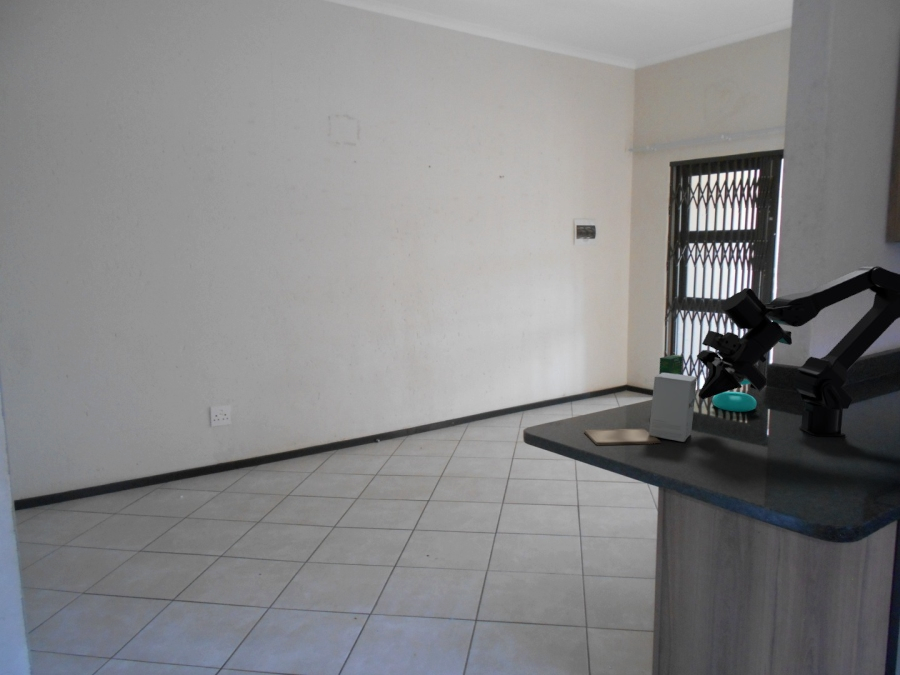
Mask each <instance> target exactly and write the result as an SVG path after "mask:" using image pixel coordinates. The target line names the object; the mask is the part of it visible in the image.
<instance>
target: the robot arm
mask: <svg viewBox="0 0 900 675" xmlns="http://www.w3.org/2000/svg"><path fill="white" fill-rule="evenodd" d="M867 290H869V291H870V292H872V293H875V294H874V298H873V304H872V307H871V308H870V309H869V310H868V311H867V312H866V313H865V314H864V315H862V316H863V317H861V318H860V319H859V320H858V321H857V322H856V324H855V325H853V327H852V328H851V329H850V330H848V332H847V333H846V334H845V335H844V336H843V337H842V339H840V340H839V342H837V344H836V345H835V346H834V347H833V348H832V349H831V350H830V351H829V352H827V354H826V355H825V356H822V357H821V358H819V357H815V356H809V357H808V358H807V360H806V361H805V362H804V363H803V365H802V366H800V367H799V368H797V369H796V371H797V373H796V374H795V376H794V378H793V379H794V386H795V389H796V391H797V392H798V394H799V397H800V400H801V401H805V402H804V409H802V412H801V425H799V426H798V428H799V429H800V430H802V431H803V432H807V433H808V434H810V435H812V436H813V437H846V436H847V433H845V432H843V431H842V427H843V425H842V424H843V414H844V413H843V412H844V410H848V409H849V407H850V405H851V403H852V397H850V396H849V394H848V393H847V392H846V391H844V389H843V388H844V386H845V385H846V382H847V381H846V380H847V375H848V371H849V369H851V368H852V366H853V365H854V364H855V363H856V362H857V361H858V360H859V359H860V358H861V357H863V355H864V353H865V352H866V351H867V350H868V349H869V348H870V347H872V345H873V344H874V343H875V342H876V341H877V340H878V339H879V338H880V337H881V336H882V335H883V334H884V333H885V332H886V330H888V329H889V328H890V326H891V325H892V324H893V323H894V322H895V321H896V320H897V319H900V273H898V272H897V273H896V272H893V271H890V270H888V269H886V268H884V267H882V266H878V265H876V266H875V265H872V266H871V265H870V266H869V265H868V266H867V265H863V266H861V267H859V268H857V269H856V270H855V271H852V272H850V273H847V274H845V275H843V276H841V277H838V278H835V279H834V280H833V279H832V280H831V281H829V282H826V283H824V284H822V285H820V286H816V287H815V288H813V289H811V290H807V291H803V292H798V293H790V294H787V295H782V296H779V297H778V296H777V297H776V298H774V299H772V300H771V301H770V302H769V303H763V302H762V301H761V300H760V298H759V297H758V296H757V295H756V293H755V292H754V290H753V289H752V288H748V287H745V288H743V289H742V290H741V291H739V292H737V293H735V294H732V295H731V296H730V297H727V298H726V299H725V300H724V301H723V303H722V304H721V307H720V308H721V311H722V312H724V315H726V316H727V317H728V318H729V319H730V321H732V323H734V325H735V326H736V327H737V328H738V329H740V330H745V329H747V330H748V331H746V332H745V333H744V334H743V336H742V335H741V337H739V335H738V334H735V333H733V332H730V331H728V332H726V333H724V334H723V333H720V332H717V331H714V330H713V331H712V330H708V331H707V333H706V335H705V337H704V339H703V341H702V343H701V344H702V345H703V346H705V347H710V348H712V349H714V350H716V351H717V352H716V351H713V350H710V349H702V350H701V351H699V353H698V354H697V355H696V358H697V359H699V361H701V363H702V364H703V365H704V366H705V367H706V368H707V369H708V375H707V378H706V379H705V381H704V383H703V386H702V387H701V388H700V390H699V393H698V395H697V396H698V398H700V399H701V400H706V399H709V398H711V397H712V398H713V397H714V396H715V395H717V394H720V393H723V392H731V391H732V390H736V389H742V388H743V385H740V383H741V382H742V381H744V380H748V381H749V382H750V383H751V384H749V385H750V386H749V388H751V390H753V391H756V392H758V393H760V392H761V391H762V390H763V389H764V388H765V387H766V386H767V377H766V376H764V374H762V372H761V371H760V370H759V369H758V368H757V367H756V366H755V365H756V364H758V363H762V364H763V363H765V362H766V361H767V358H766V357H765V356H766V355H767V354H768V353H769V352H770V351H771V350H772V349H773V348H774V347H775V346H776V345H777V344H778V343H779V344H784V345H789V346H790V345H792V344H793V341H792V340H793V339H792V331H789V330H784V329H783V328H782V326H788V327H792V328H793V327H794V328H795V327H796V328H799V327H802V326H804V325H806V324H807V323H809V322H810V321H812V320H813V319H814V318H817V316H818V315H819V314H820V312H821V311H823V310H824V309H826V308H827V307H829V306H833V305H835V304H837V303H840V302H841V301H845V300H846V299H848V298H851V297H853V296H855V295H858V294H860V293H863V292H864V291H867ZM781 325H782V326H781Z"/></svg>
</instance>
